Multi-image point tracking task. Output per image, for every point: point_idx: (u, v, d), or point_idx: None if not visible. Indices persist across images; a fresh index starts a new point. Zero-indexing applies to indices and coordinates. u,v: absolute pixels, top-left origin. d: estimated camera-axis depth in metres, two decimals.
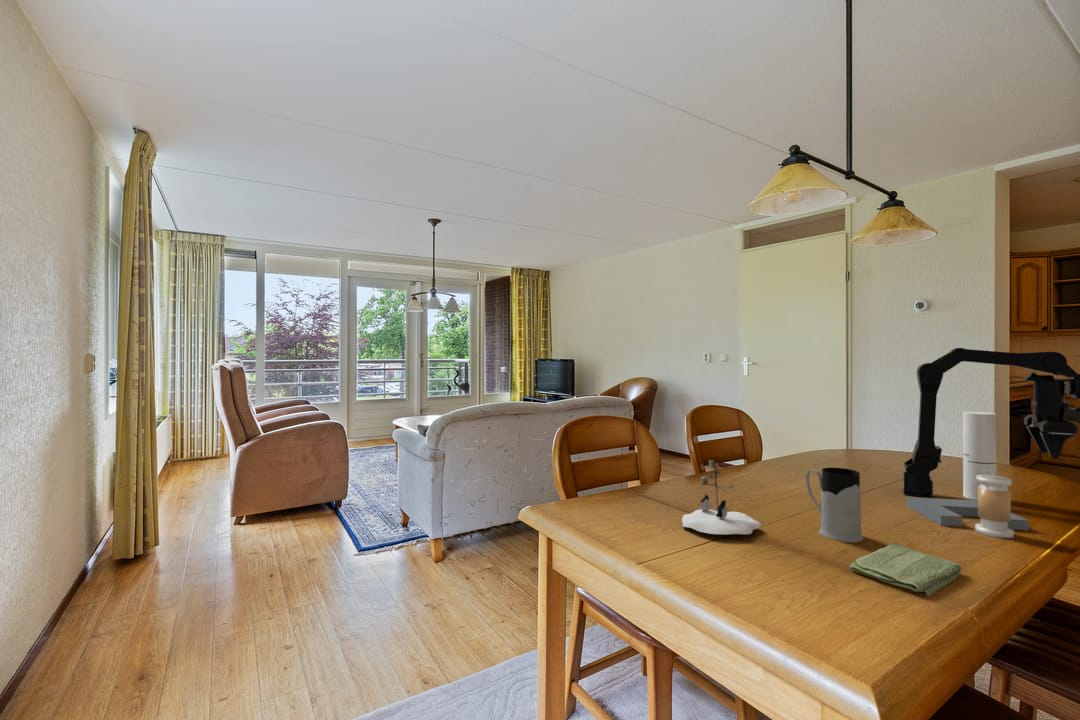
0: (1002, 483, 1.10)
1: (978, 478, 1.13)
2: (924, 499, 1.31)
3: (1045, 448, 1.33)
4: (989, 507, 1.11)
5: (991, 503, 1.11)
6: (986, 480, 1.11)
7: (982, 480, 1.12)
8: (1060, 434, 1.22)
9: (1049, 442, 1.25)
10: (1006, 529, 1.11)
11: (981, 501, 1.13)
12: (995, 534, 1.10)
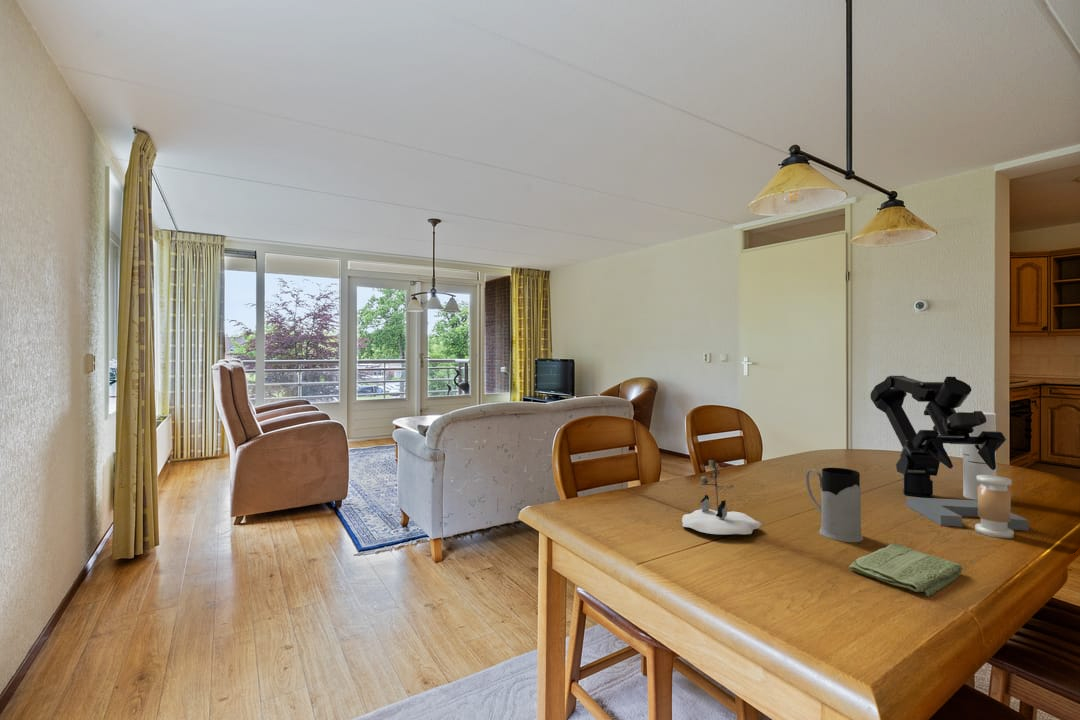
0: (1002, 483, 1.10)
1: (978, 478, 1.13)
2: (924, 499, 1.31)
3: (990, 464, 1.20)
4: (989, 507, 1.11)
5: (991, 503, 1.11)
6: (986, 480, 1.11)
7: (982, 480, 1.12)
8: (925, 444, 1.27)
9: (935, 455, 1.26)
10: (1006, 529, 1.11)
11: (981, 501, 1.13)
12: (995, 534, 1.10)
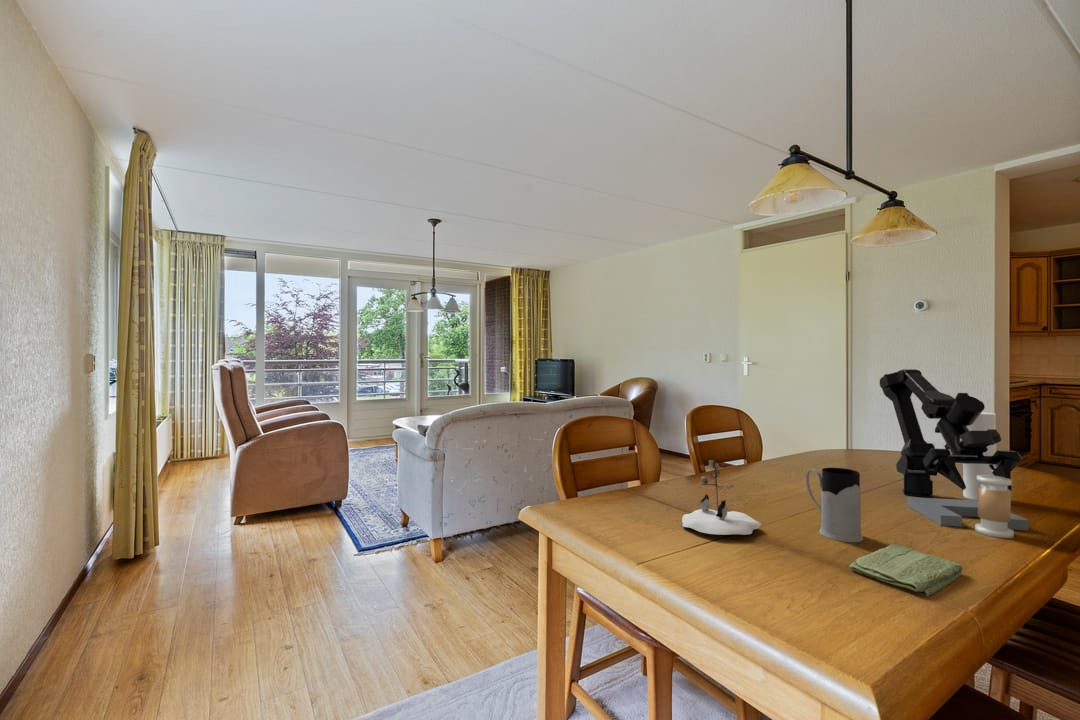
0: (1002, 483, 1.10)
1: (978, 478, 1.13)
2: (924, 499, 1.31)
3: None
4: (989, 507, 1.11)
5: (991, 503, 1.11)
6: (986, 480, 1.11)
7: (982, 480, 1.12)
8: (936, 463, 1.21)
9: (947, 475, 1.20)
10: (1006, 529, 1.11)
11: (981, 501, 1.13)
12: (995, 534, 1.10)
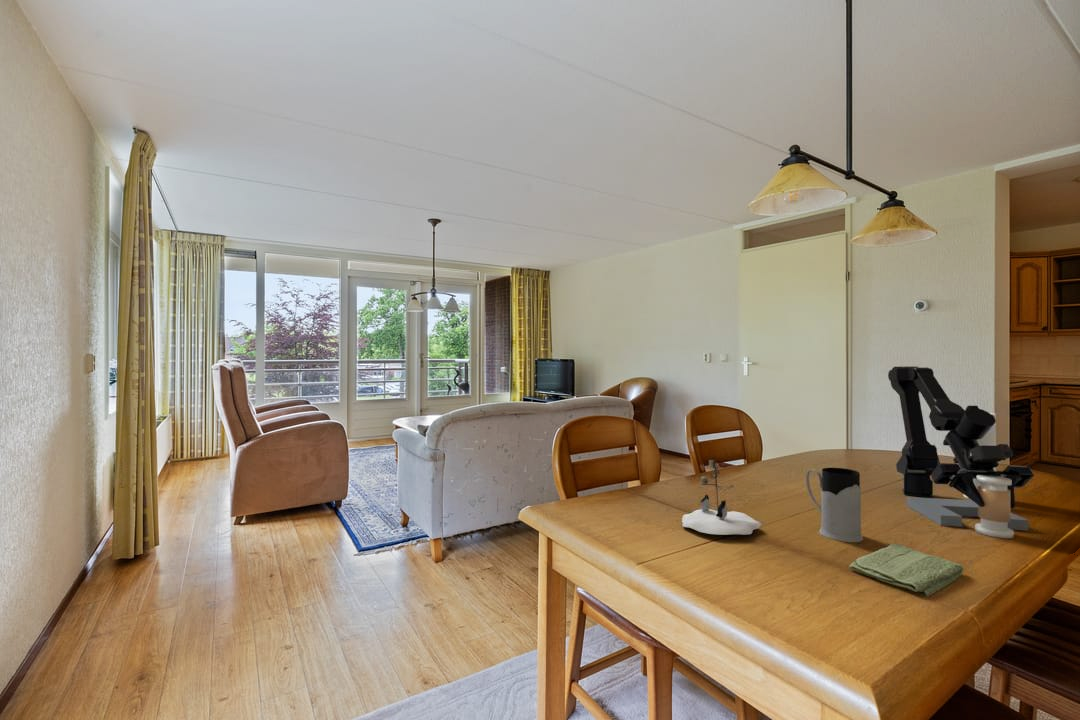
0: (1002, 483, 1.10)
1: (978, 478, 1.13)
2: (924, 499, 1.31)
3: None
4: (989, 507, 1.11)
5: (991, 503, 1.11)
6: (986, 480, 1.11)
7: (982, 480, 1.12)
8: (953, 479, 1.17)
9: (964, 491, 1.16)
10: (1006, 529, 1.11)
11: None
12: (995, 534, 1.10)
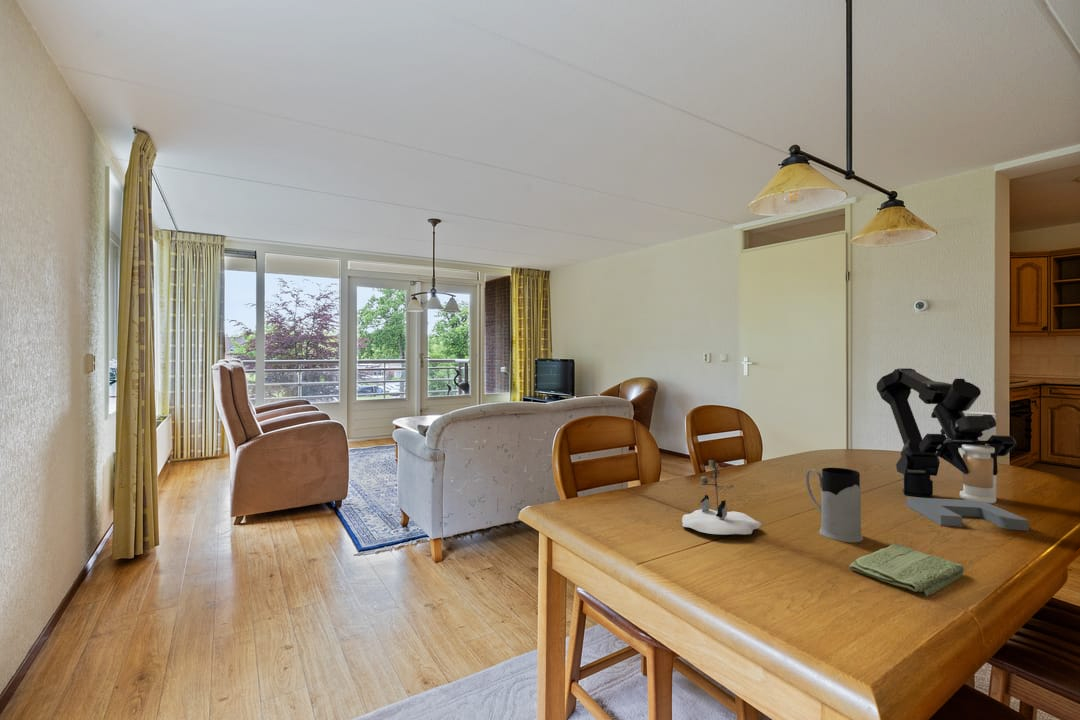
0: (985, 451, 1.15)
1: (963, 447, 1.19)
2: (924, 499, 1.31)
3: None
4: (973, 474, 1.17)
5: (975, 470, 1.16)
6: (970, 448, 1.17)
7: (967, 449, 1.18)
8: (939, 448, 1.23)
9: (950, 460, 1.22)
10: (989, 495, 1.16)
11: None
12: (978, 499, 1.16)
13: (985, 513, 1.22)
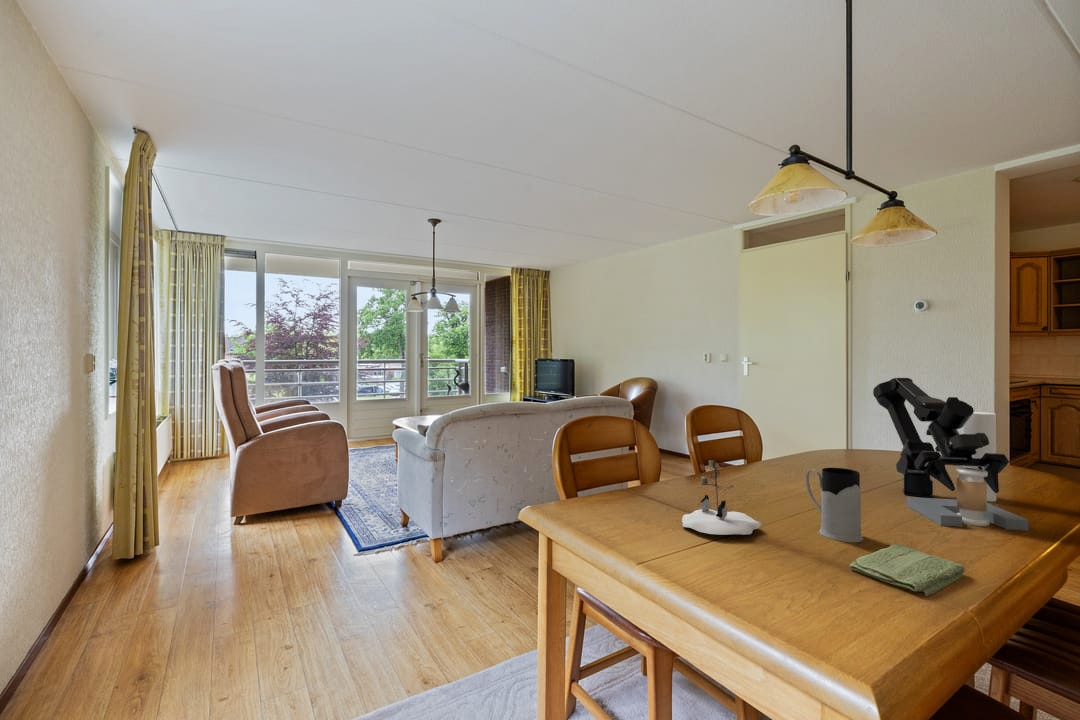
0: (979, 475, 1.18)
1: (957, 470, 1.21)
2: (924, 499, 1.31)
3: (993, 487, 1.19)
4: (967, 497, 1.19)
5: (969, 493, 1.19)
6: (964, 472, 1.19)
7: (960, 472, 1.20)
8: (927, 465, 1.25)
9: (937, 477, 1.24)
10: (982, 518, 1.18)
11: (959, 492, 1.21)
12: (972, 522, 1.18)
13: (985, 513, 1.22)
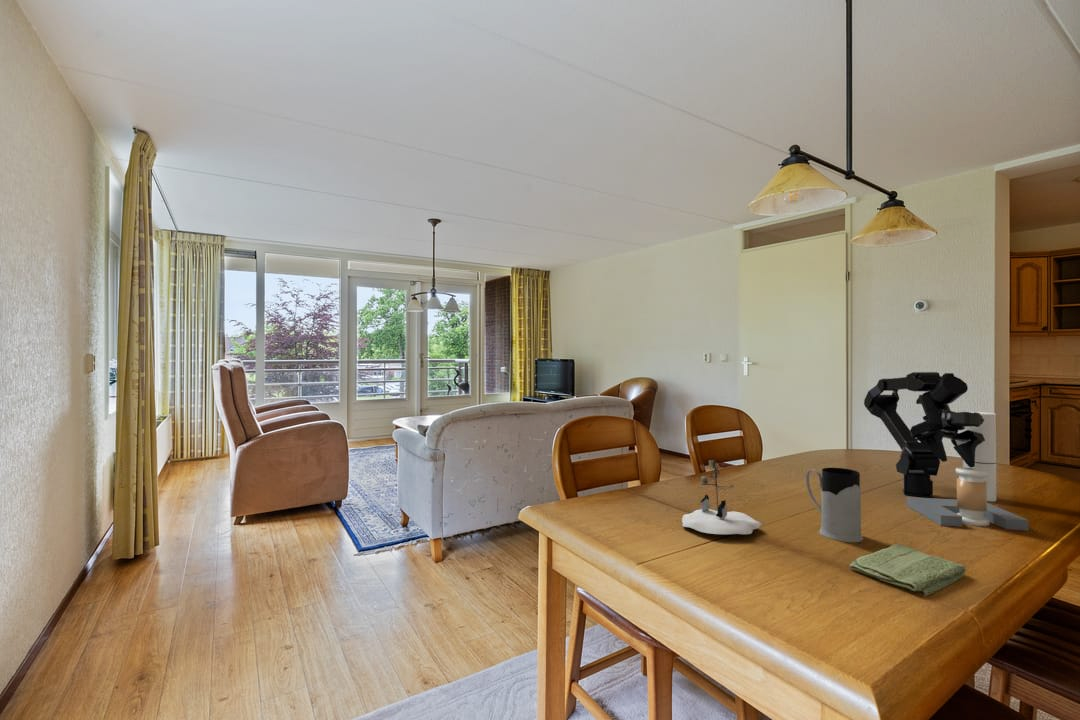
0: (979, 475, 1.18)
1: (957, 470, 1.21)
2: (924, 499, 1.31)
3: (970, 461, 1.29)
4: (967, 497, 1.19)
5: (969, 493, 1.19)
6: (964, 472, 1.19)
7: (960, 472, 1.20)
8: (926, 434, 1.29)
9: (929, 446, 1.30)
10: (982, 518, 1.18)
11: (959, 492, 1.21)
12: (972, 522, 1.18)
13: (985, 513, 1.22)
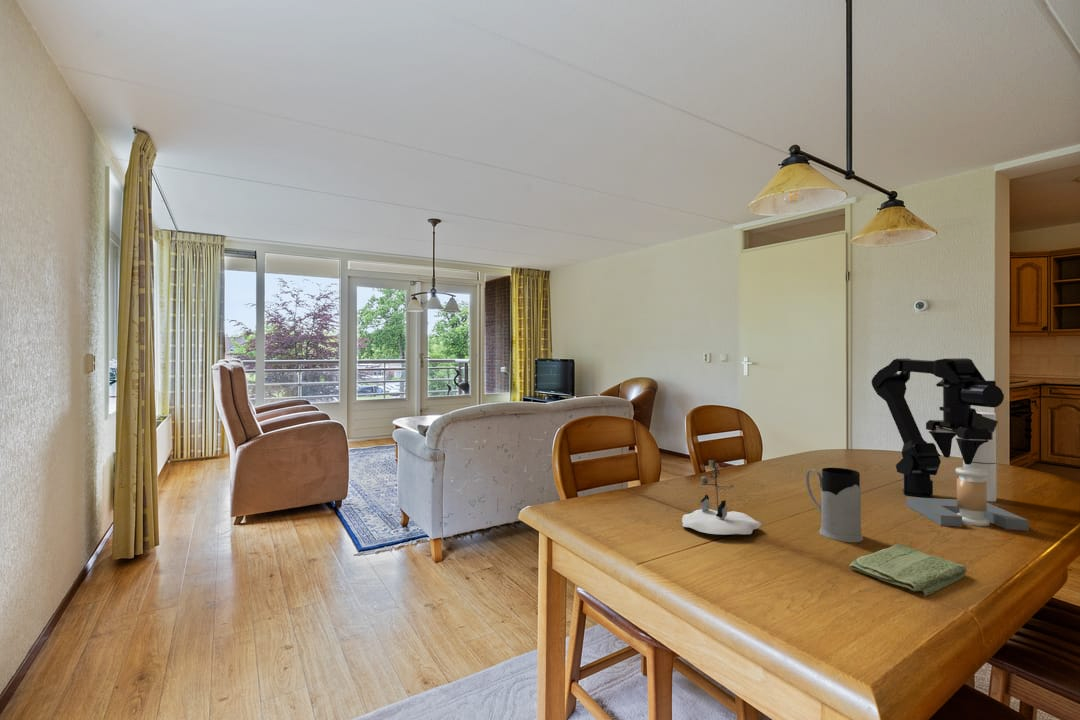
0: (979, 475, 1.18)
1: (957, 470, 1.21)
2: (924, 499, 1.31)
3: (948, 453, 1.36)
4: (967, 497, 1.19)
5: (969, 493, 1.19)
6: (964, 472, 1.19)
7: (960, 472, 1.20)
8: (977, 440, 1.24)
9: (965, 448, 1.26)
10: (982, 518, 1.18)
11: (960, 492, 1.21)
12: (972, 522, 1.18)
13: (985, 513, 1.22)
